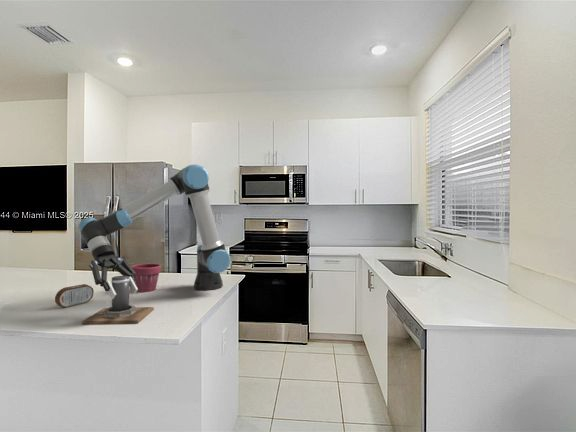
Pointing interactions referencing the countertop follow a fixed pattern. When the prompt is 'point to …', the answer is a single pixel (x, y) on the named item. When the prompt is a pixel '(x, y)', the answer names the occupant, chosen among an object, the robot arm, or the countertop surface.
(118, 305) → the dome-topped grey cylinder
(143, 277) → the plant pot
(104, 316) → the mount board
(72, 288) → the tin
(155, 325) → the countertop surface
